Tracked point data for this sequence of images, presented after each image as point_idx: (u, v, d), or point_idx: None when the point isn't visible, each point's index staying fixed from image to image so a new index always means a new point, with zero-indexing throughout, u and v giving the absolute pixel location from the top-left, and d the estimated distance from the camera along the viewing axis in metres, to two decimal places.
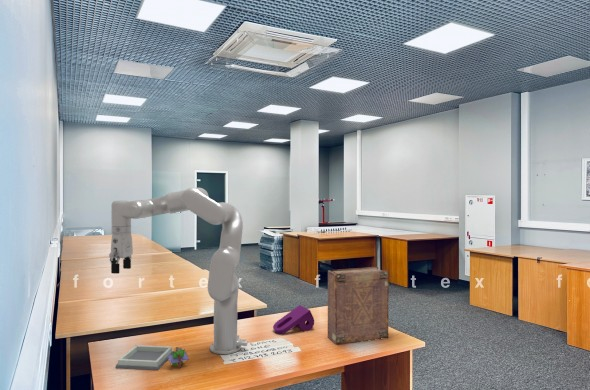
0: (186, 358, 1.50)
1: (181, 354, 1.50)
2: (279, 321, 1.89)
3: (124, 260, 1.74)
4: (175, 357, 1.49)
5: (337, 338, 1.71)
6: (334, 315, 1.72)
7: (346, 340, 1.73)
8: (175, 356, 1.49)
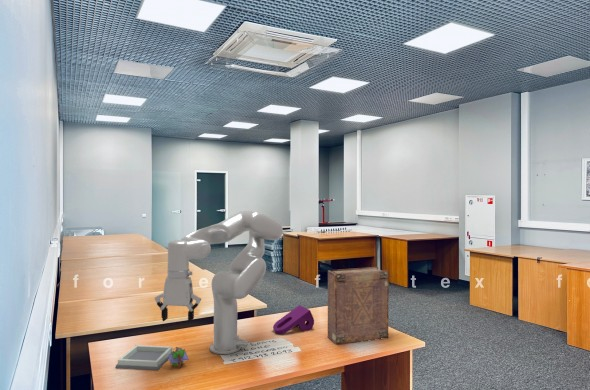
0: (186, 358, 1.50)
1: (181, 354, 1.50)
2: (279, 321, 1.89)
3: (164, 311, 1.49)
4: (175, 357, 1.49)
5: (337, 338, 1.71)
6: (334, 315, 1.72)
7: (346, 340, 1.73)
8: (175, 356, 1.49)
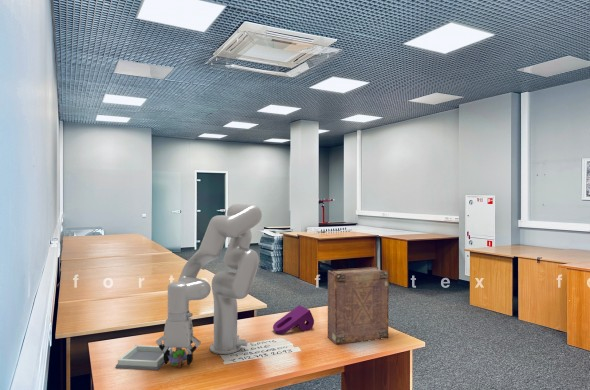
0: (186, 358, 1.50)
1: (181, 354, 1.50)
2: (279, 321, 1.89)
3: (166, 354, 1.49)
4: (175, 357, 1.49)
5: (337, 338, 1.71)
6: (334, 315, 1.72)
7: (346, 340, 1.73)
8: (175, 356, 1.49)
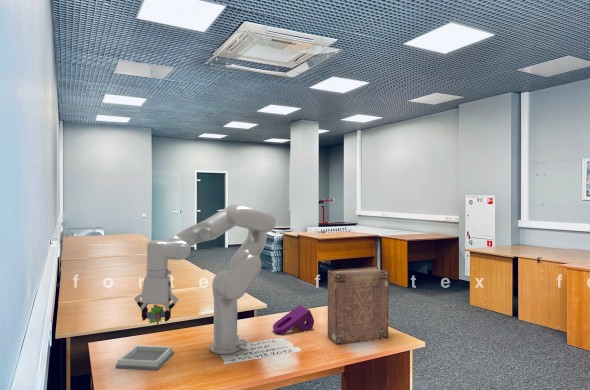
0: (164, 315, 1.53)
1: (159, 311, 1.52)
2: (279, 321, 1.89)
3: (145, 310, 1.51)
4: (153, 314, 1.51)
5: (337, 338, 1.71)
6: (334, 315, 1.72)
7: (346, 340, 1.73)
8: (153, 313, 1.51)
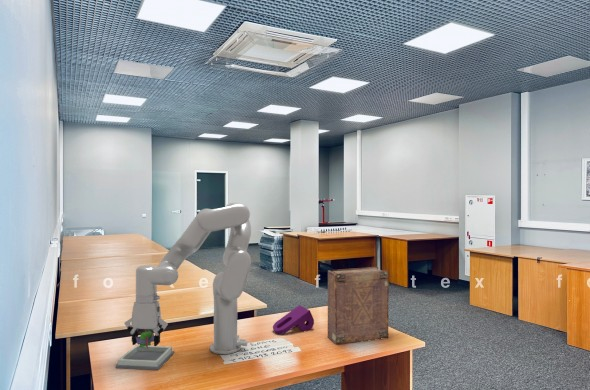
0: (153, 339, 1.55)
1: (149, 335, 1.54)
2: (279, 321, 1.89)
3: (134, 335, 1.54)
4: (142, 338, 1.53)
5: (337, 338, 1.71)
6: (334, 315, 1.72)
7: (346, 340, 1.73)
8: (142, 337, 1.53)
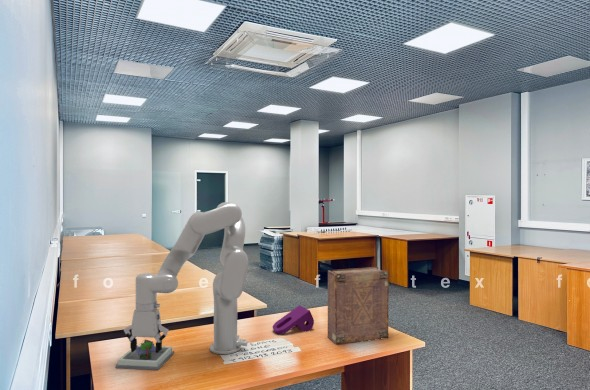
0: (154, 350, 1.55)
1: (149, 346, 1.54)
2: (279, 321, 1.89)
3: (133, 342, 1.54)
4: (143, 349, 1.54)
5: (337, 338, 1.71)
6: (334, 315, 1.72)
7: (346, 340, 1.73)
8: (143, 348, 1.53)
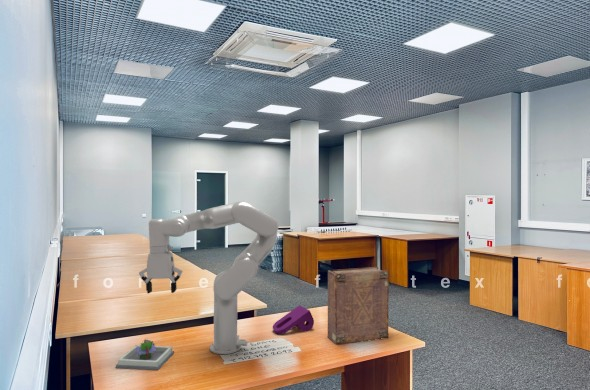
0: (154, 350, 1.55)
1: (149, 346, 1.54)
2: (279, 321, 1.89)
3: (149, 284, 1.61)
4: (143, 349, 1.54)
5: (337, 338, 1.71)
6: (334, 315, 1.72)
7: (346, 340, 1.73)
8: (143, 348, 1.53)
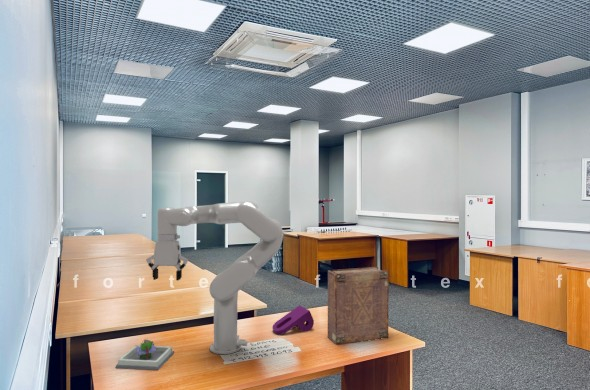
0: (154, 350, 1.55)
1: (149, 346, 1.54)
2: (279, 321, 1.89)
3: (155, 271, 1.65)
4: (143, 349, 1.54)
5: (337, 338, 1.71)
6: (334, 315, 1.72)
7: (346, 340, 1.73)
8: (143, 348, 1.53)
